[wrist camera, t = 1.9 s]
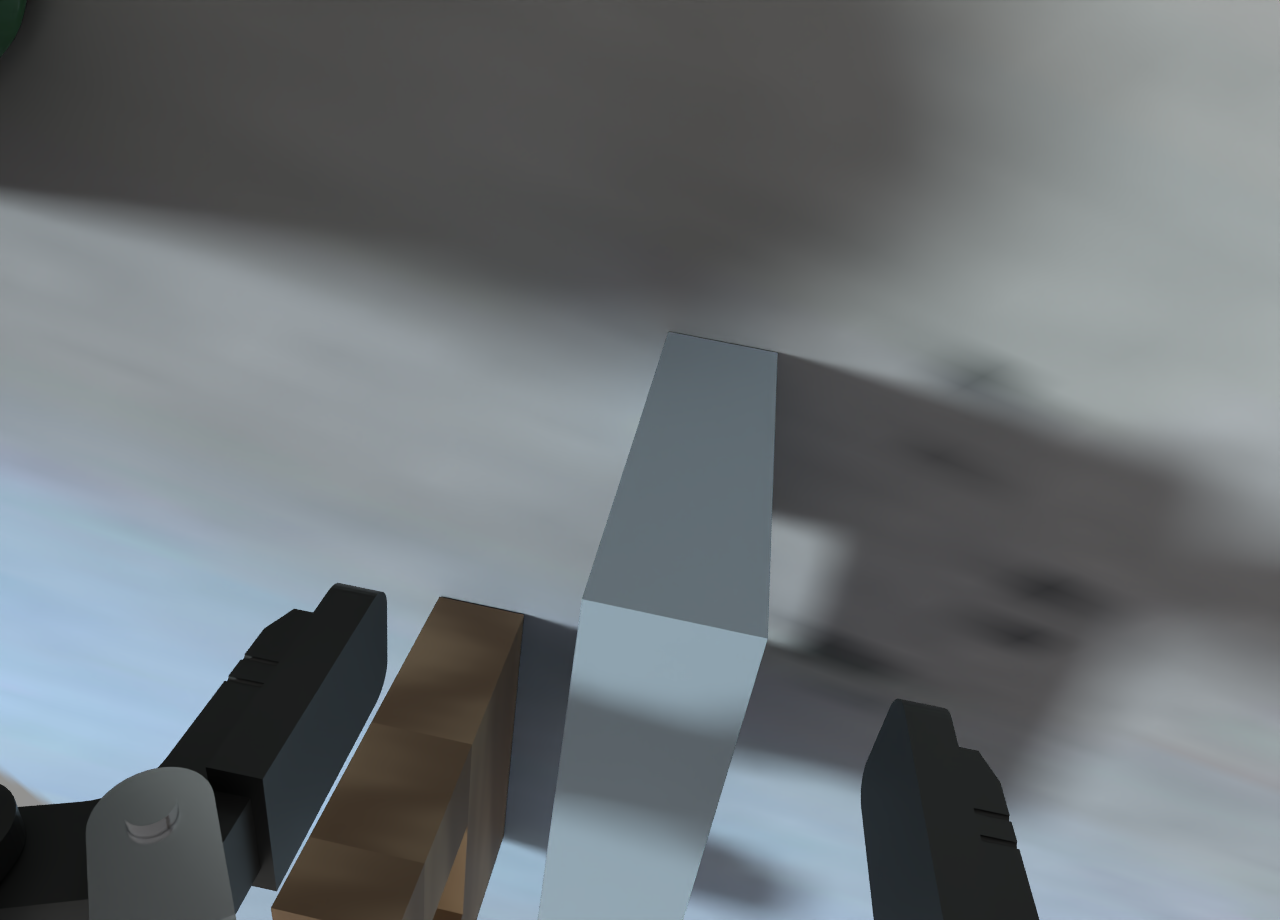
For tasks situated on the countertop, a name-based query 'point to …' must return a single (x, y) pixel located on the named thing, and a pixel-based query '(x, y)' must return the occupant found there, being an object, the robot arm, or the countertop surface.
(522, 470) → the countertop surface
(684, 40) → the countertop surface
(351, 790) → the notched wooden block
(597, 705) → the pale grey upright slab
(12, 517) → the countertop surface
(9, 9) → the coffee jar
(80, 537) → the countertop surface
